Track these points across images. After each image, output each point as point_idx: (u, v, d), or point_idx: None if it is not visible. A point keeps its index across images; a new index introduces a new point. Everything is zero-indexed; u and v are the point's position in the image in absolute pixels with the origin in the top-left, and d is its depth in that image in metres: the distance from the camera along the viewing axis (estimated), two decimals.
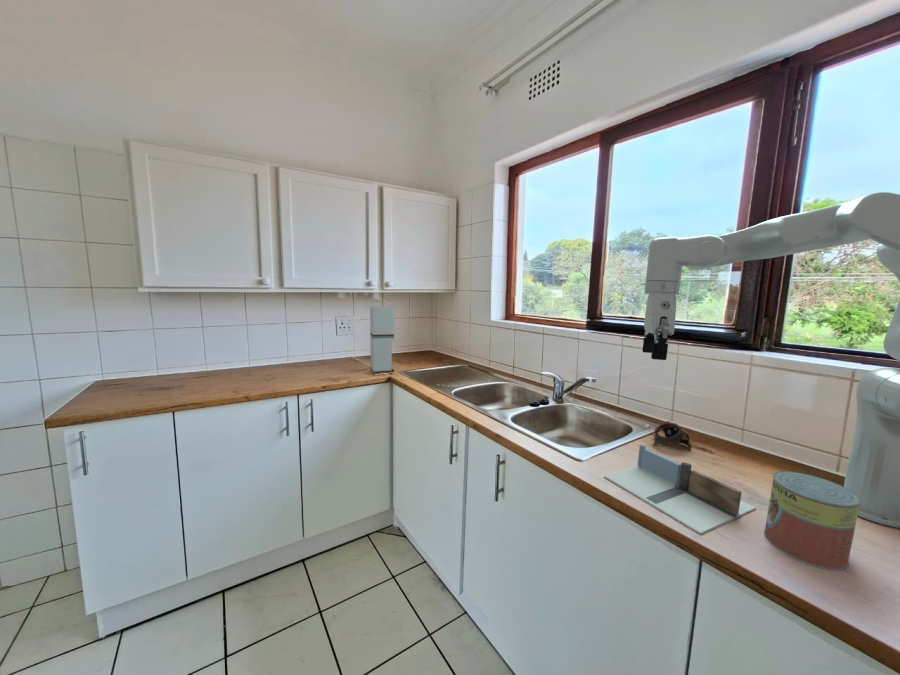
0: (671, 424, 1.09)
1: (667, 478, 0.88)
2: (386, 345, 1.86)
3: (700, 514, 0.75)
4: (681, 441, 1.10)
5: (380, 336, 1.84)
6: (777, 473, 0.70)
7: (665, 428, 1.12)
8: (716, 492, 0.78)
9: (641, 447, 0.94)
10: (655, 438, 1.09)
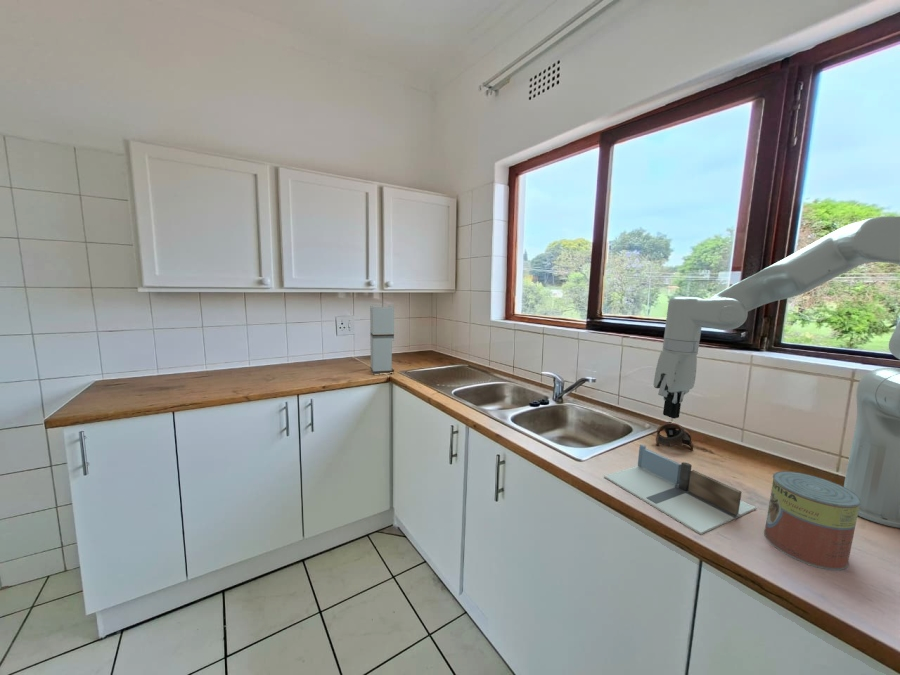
0: (673, 424, 1.09)
1: (667, 478, 0.88)
2: (386, 345, 1.86)
3: (700, 514, 0.75)
4: (683, 441, 1.10)
5: (380, 336, 1.84)
6: (777, 473, 0.70)
7: (667, 428, 1.11)
8: (716, 492, 0.78)
9: (641, 447, 0.94)
10: (657, 438, 1.09)
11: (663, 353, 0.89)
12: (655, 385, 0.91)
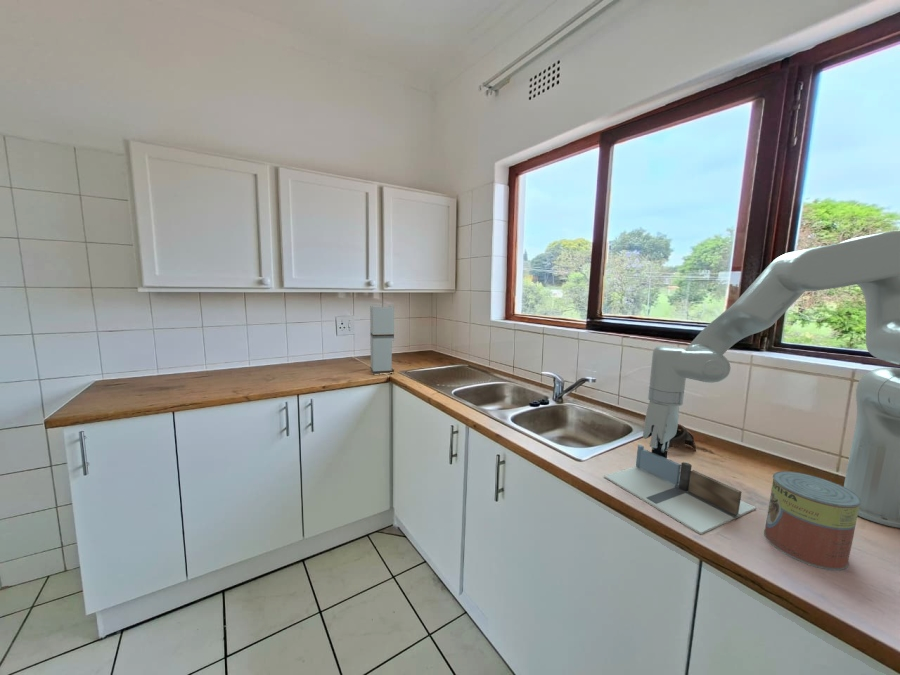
0: None
1: (667, 478, 0.88)
2: (386, 345, 1.86)
3: (700, 514, 0.75)
4: (685, 442, 1.10)
5: (380, 336, 1.84)
6: (777, 473, 0.70)
7: None
8: (716, 492, 0.78)
9: (639, 448, 0.93)
10: None
11: (652, 404, 0.89)
12: (645, 436, 0.90)
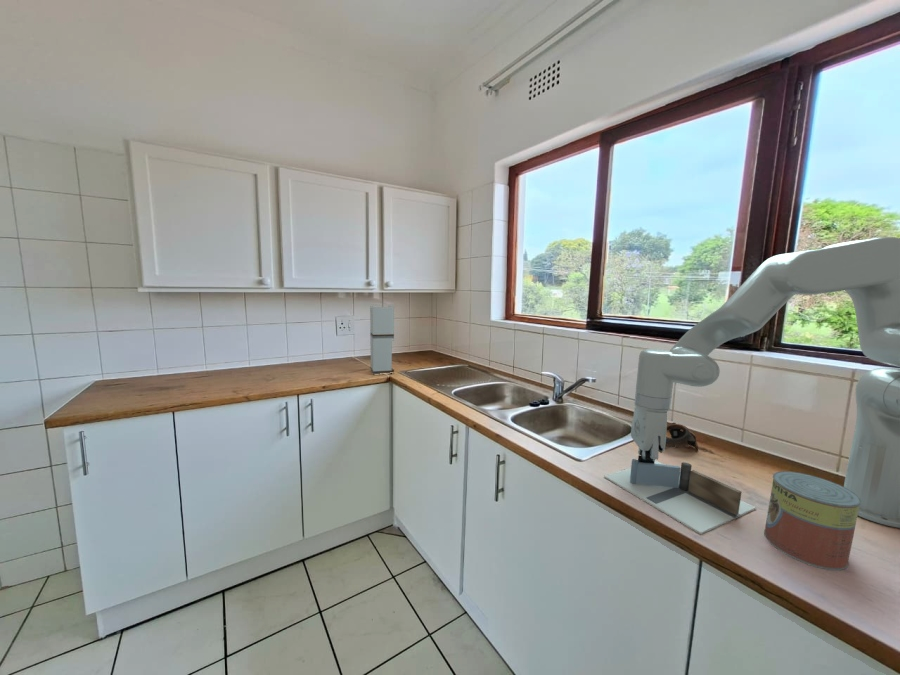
0: (678, 425, 1.08)
1: (668, 485, 0.85)
2: (386, 345, 1.86)
3: (700, 514, 0.75)
4: (687, 442, 1.10)
5: (380, 336, 1.84)
6: (777, 473, 0.70)
7: (671, 429, 1.11)
8: (716, 492, 0.78)
9: (636, 463, 0.85)
10: None
11: (653, 414, 0.82)
12: (647, 449, 0.83)
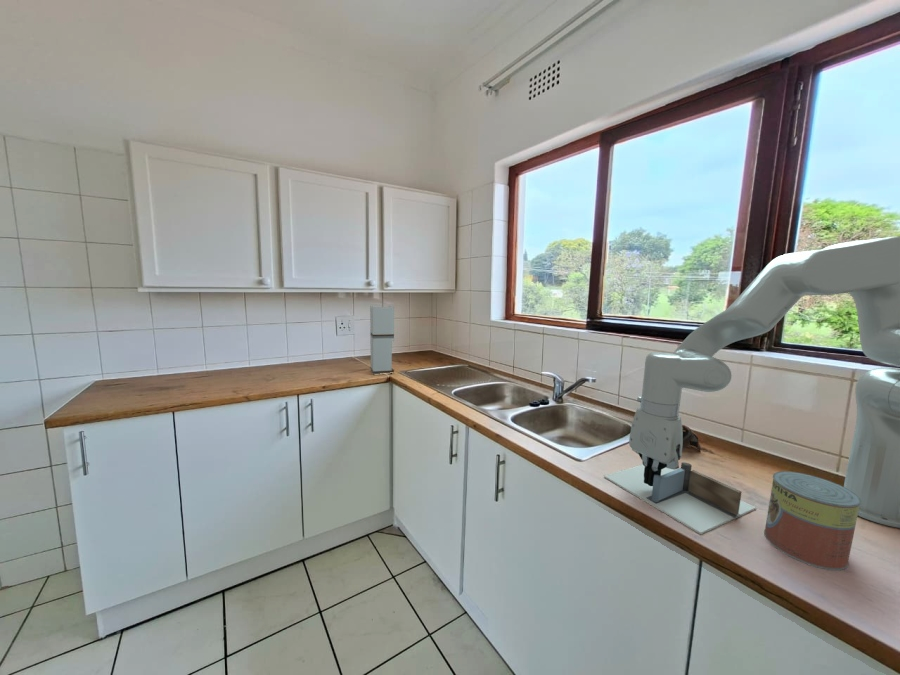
0: None
1: (677, 490, 0.83)
2: (386, 345, 1.86)
3: (700, 514, 0.75)
4: (690, 443, 1.09)
5: (380, 336, 1.84)
6: (777, 473, 0.70)
7: None
8: (716, 492, 0.78)
9: (660, 478, 0.78)
10: None
11: (675, 423, 0.77)
12: (671, 461, 0.77)
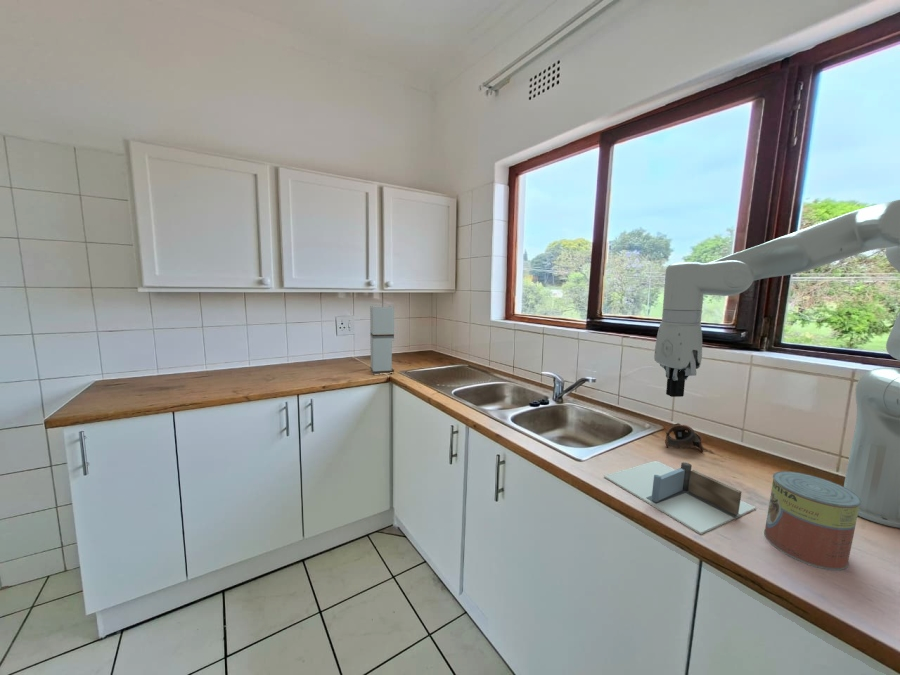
0: (682, 426, 1.07)
1: (677, 490, 0.83)
2: (386, 345, 1.86)
3: (700, 514, 0.75)
4: (692, 443, 1.09)
5: (380, 336, 1.84)
6: (777, 473, 0.70)
7: (676, 430, 1.10)
8: (716, 492, 0.78)
9: (660, 478, 0.78)
10: (667, 441, 1.07)
11: (689, 327, 0.78)
12: (685, 366, 0.79)
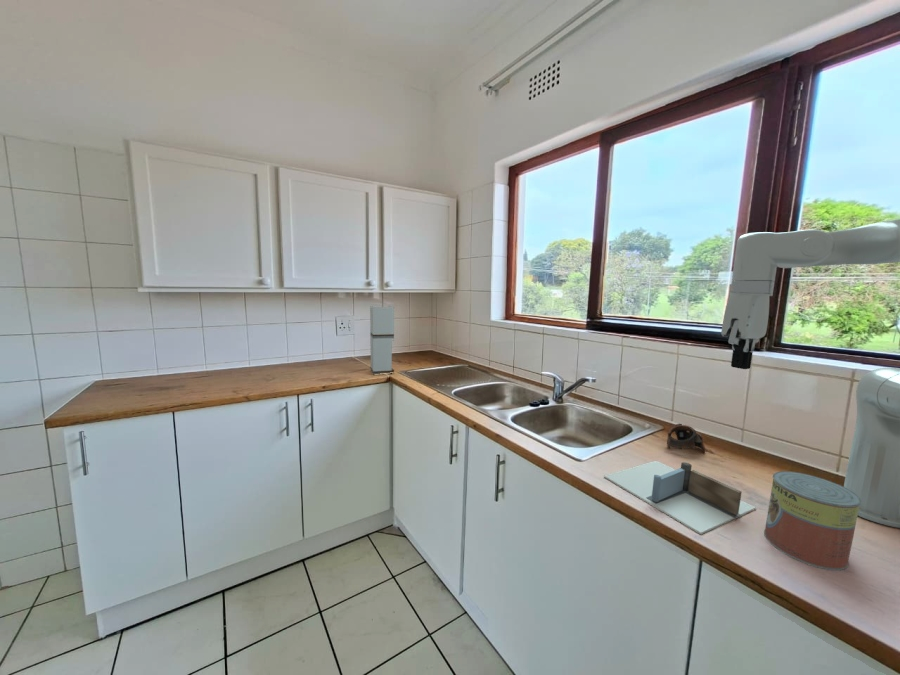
0: (684, 427, 1.07)
1: (677, 490, 0.83)
2: (386, 345, 1.86)
3: (700, 514, 0.75)
4: (694, 444, 1.09)
5: (380, 336, 1.84)
6: (777, 473, 0.70)
7: (677, 431, 1.10)
8: (716, 492, 0.78)
9: (660, 478, 0.78)
10: (668, 441, 1.07)
11: (733, 296, 0.81)
12: (724, 333, 0.83)
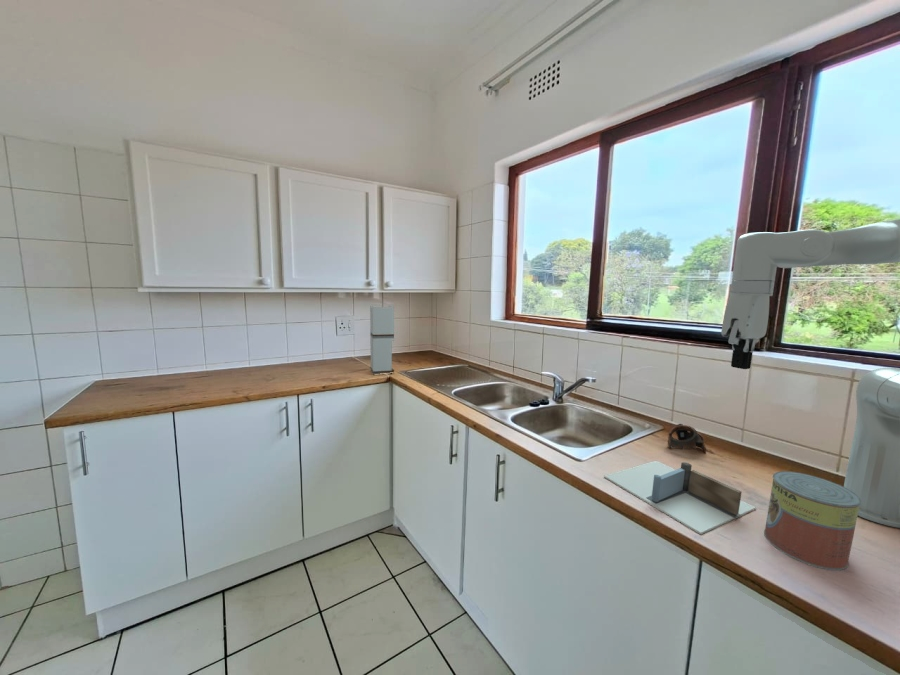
0: (685, 427, 1.07)
1: (677, 490, 0.83)
2: (386, 345, 1.86)
3: (700, 514, 0.75)
4: (695, 444, 1.09)
5: (380, 336, 1.84)
6: (777, 473, 0.70)
7: (678, 431, 1.10)
8: (716, 492, 0.78)
9: (660, 478, 0.78)
10: (669, 441, 1.07)
11: (733, 296, 0.81)
12: (724, 333, 0.83)
